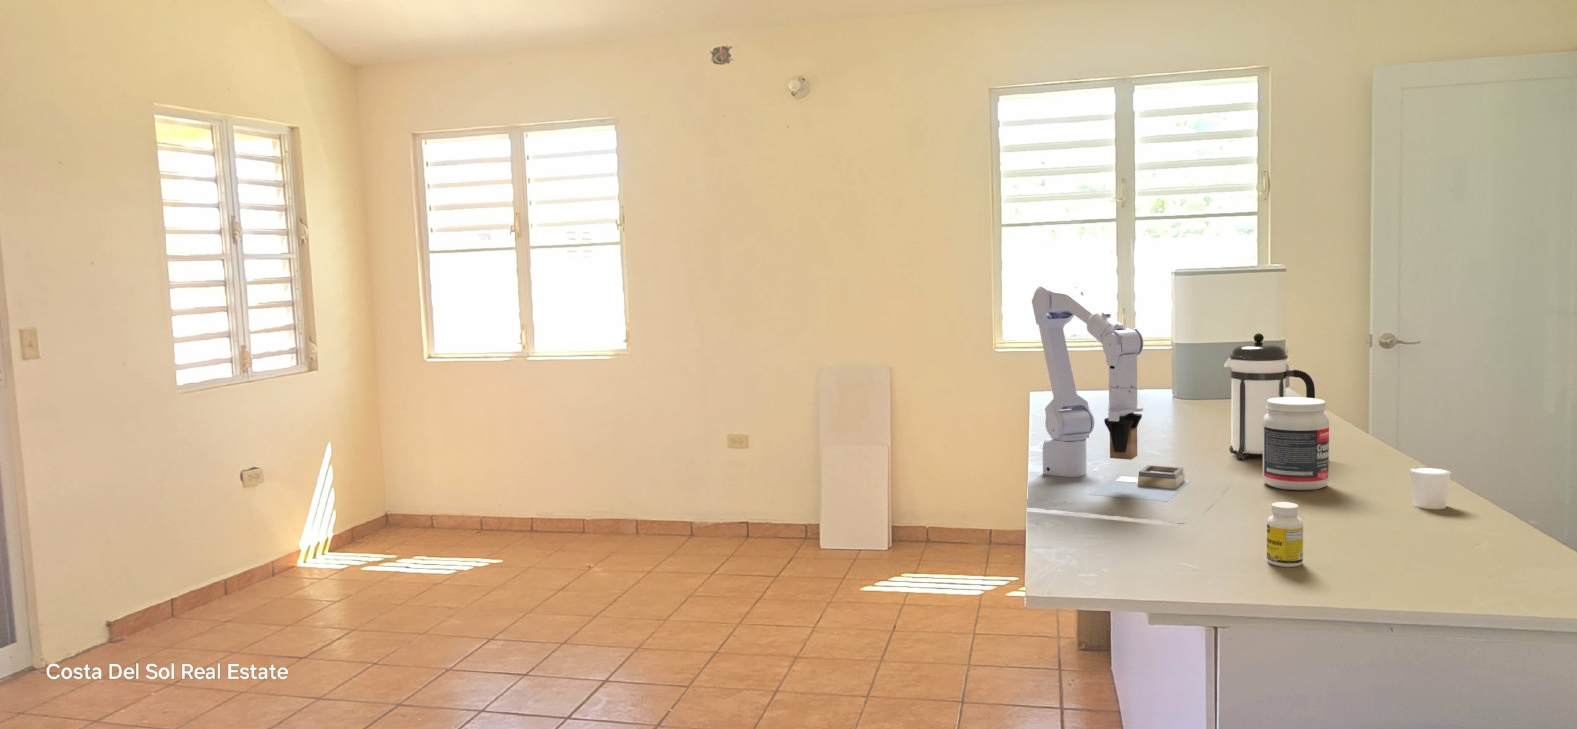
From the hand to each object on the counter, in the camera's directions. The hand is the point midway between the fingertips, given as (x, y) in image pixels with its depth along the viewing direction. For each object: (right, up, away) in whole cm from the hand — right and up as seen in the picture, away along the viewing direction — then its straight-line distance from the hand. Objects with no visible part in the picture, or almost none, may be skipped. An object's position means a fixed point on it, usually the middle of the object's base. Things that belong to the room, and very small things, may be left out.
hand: (1123, 449), depth 228 cm
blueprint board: (+5, -9, +3) cm, 11 cm away
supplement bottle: (+10, -15, -51) cm, 54 cm away
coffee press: (+45, -4, +34) cm, 56 cm away
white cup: (+54, -10, -19) cm, 58 cm away
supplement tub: (+37, -8, +2) cm, 38 cm away
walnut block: (0, -2, 0) cm, 2 cm away
